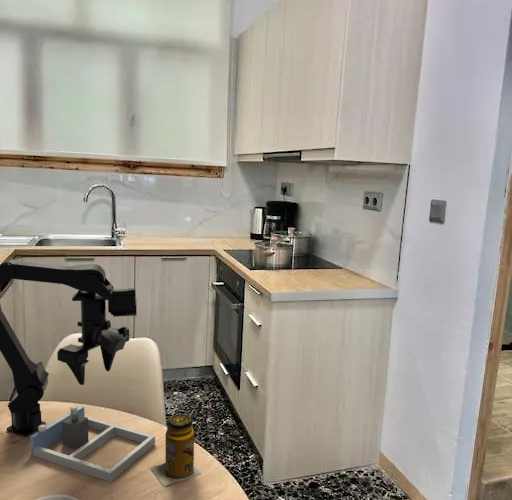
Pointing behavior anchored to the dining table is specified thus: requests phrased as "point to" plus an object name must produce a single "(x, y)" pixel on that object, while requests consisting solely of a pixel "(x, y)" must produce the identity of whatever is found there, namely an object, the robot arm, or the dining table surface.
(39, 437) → the organiser
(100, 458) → the dining table surface
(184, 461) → the condiment
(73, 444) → the grey cube with knob
